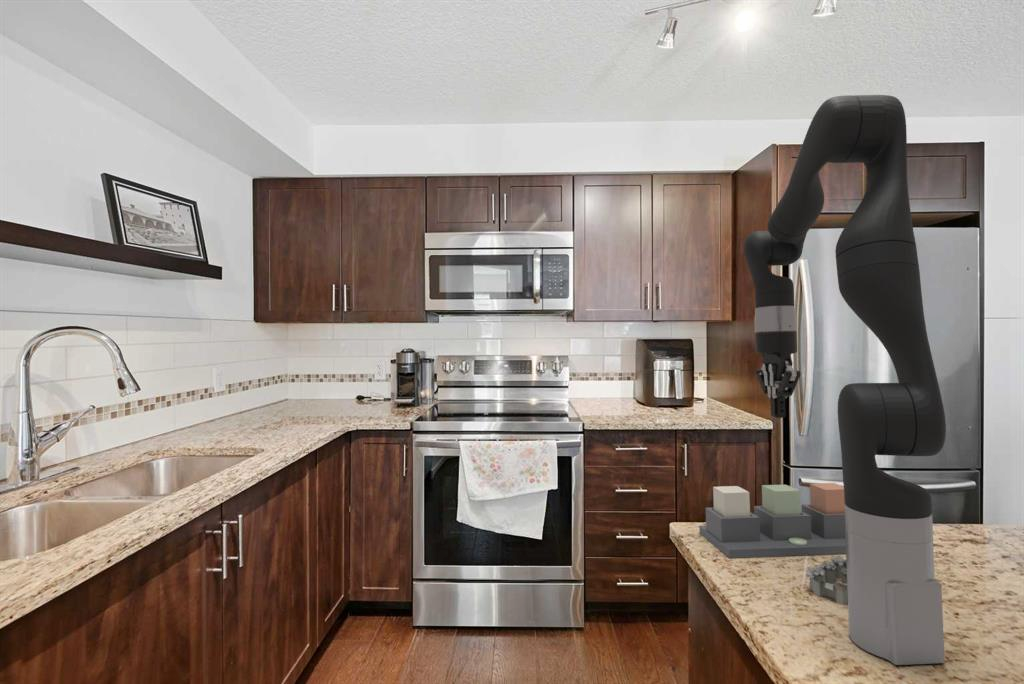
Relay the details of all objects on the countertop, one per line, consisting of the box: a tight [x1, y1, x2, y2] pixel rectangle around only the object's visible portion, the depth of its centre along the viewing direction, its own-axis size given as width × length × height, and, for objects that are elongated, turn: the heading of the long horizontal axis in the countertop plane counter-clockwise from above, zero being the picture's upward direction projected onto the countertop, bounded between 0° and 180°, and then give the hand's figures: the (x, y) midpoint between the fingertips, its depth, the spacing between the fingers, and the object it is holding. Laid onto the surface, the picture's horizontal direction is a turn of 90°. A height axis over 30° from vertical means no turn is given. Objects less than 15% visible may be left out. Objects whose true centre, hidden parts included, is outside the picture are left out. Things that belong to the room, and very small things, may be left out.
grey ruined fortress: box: [805, 555, 848, 605], centre depth 84 cm, size 11×8×4 cm
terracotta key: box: [809, 482, 845, 514], centre depth 107 cm, size 5×5×6 cm
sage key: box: [761, 484, 802, 516], centre depth 106 cm, size 5×5×6 cm
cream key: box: [712, 485, 751, 517], centre depth 106 cm, size 5×5×6 cm
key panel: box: [698, 503, 846, 559], centre depth 106 cm, size 14×28×6 cm, turn 92°
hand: (778, 417), depth 107 cm, fingers closed
